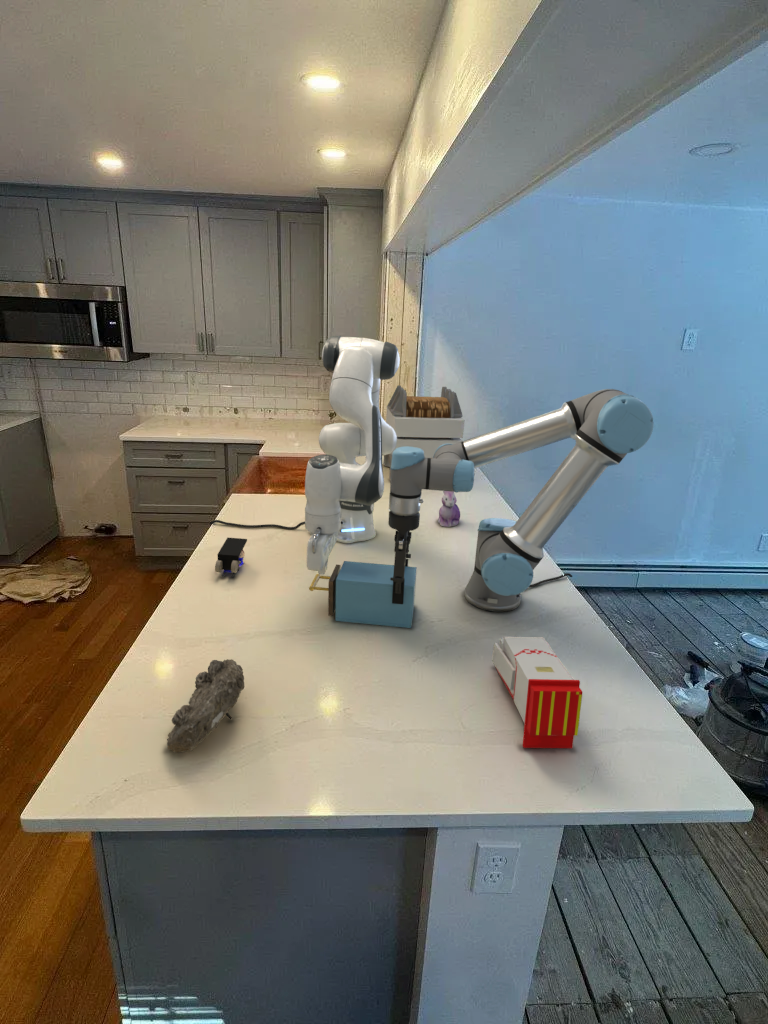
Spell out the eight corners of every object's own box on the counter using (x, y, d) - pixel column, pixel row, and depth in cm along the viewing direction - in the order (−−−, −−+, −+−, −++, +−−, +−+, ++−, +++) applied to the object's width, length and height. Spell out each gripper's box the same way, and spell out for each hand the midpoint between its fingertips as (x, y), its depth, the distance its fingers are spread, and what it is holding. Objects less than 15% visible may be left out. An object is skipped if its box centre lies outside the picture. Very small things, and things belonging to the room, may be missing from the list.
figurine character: (238, 584, 162) (249, 557, 175) (236, 562, 158) (247, 536, 172) (215, 584, 161) (227, 556, 175) (212, 561, 158) (225, 535, 171)
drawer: (307, 613, 144) (307, 579, 141) (316, 595, 153) (316, 562, 150) (398, 622, 142) (400, 587, 138) (402, 603, 151) (404, 570, 148)
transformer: (382, 463, 289) (386, 382, 275) (445, 464, 293) (451, 384, 279) (390, 482, 257) (394, 392, 243) (460, 483, 261) (468, 394, 247)
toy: (540, 620, 128) (592, 687, 99) (535, 674, 131) (584, 755, 102) (487, 619, 128) (523, 686, 99) (483, 673, 131) (517, 754, 101)
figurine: (445, 529, 206) (449, 489, 200) (430, 519, 214) (433, 481, 209) (467, 525, 210) (470, 487, 205) (451, 516, 218) (454, 479, 213)
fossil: (192, 660, 117) (244, 628, 112) (224, 691, 120) (276, 661, 115) (142, 746, 98) (202, 712, 93) (182, 779, 101) (242, 748, 96)
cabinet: (335, 620, 143) (336, 579, 139) (343, 600, 153) (344, 560, 149) (411, 628, 141) (413, 586, 137) (413, 606, 152) (416, 567, 148)
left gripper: (326, 537, 130) (326, 591, 135) (342, 509, 149) (341, 557, 154) (299, 535, 131) (300, 589, 135) (319, 507, 150) (319, 555, 154)
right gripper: (417, 530, 126) (411, 616, 133) (422, 497, 148) (417, 573, 155) (383, 527, 126) (379, 613, 134) (393, 495, 148) (389, 570, 156)
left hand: (322, 572), depth 145 cm, fingers closed
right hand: (399, 592), depth 144 cm, fingers closed on cabinet, 11 cm apart
